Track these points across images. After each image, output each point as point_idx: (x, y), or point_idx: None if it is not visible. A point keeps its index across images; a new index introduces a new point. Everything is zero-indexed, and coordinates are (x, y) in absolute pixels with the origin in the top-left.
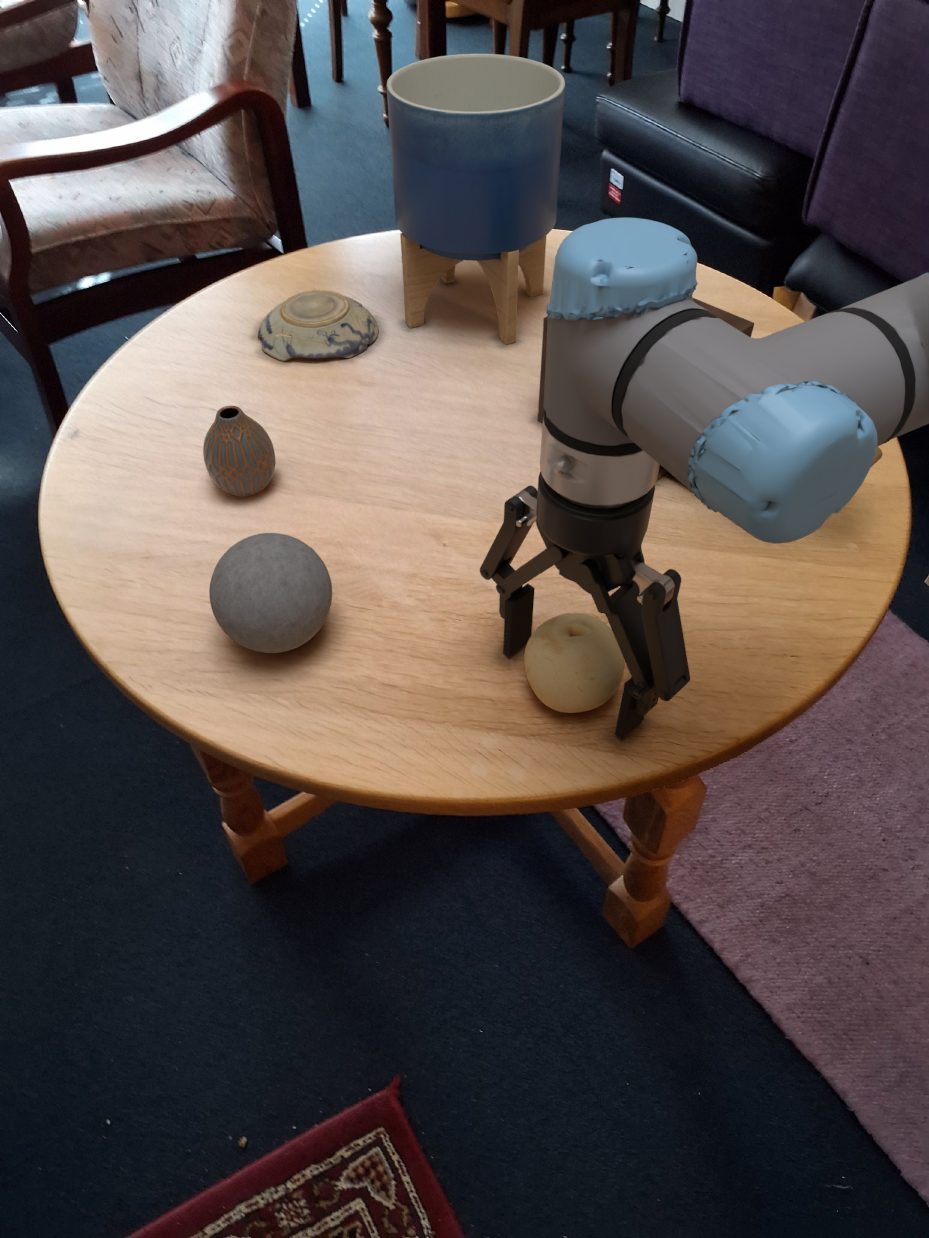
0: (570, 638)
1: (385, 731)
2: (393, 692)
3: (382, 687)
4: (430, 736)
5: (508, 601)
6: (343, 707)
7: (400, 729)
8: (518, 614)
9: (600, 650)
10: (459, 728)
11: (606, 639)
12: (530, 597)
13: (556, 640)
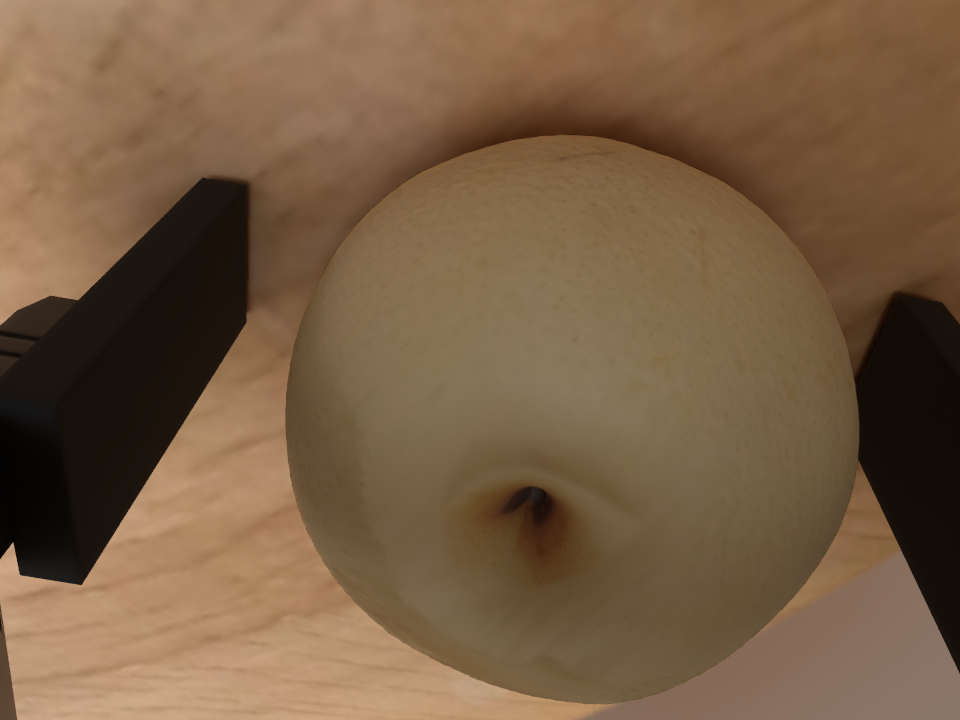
0: (548, 649)
1: (172, 701)
2: (67, 607)
3: (27, 608)
4: (283, 666)
5: (39, 567)
6: (18, 695)
7: (197, 682)
8: (136, 445)
9: (757, 614)
10: (330, 615)
11: (754, 519)
12: (92, 398)
13: (477, 662)
